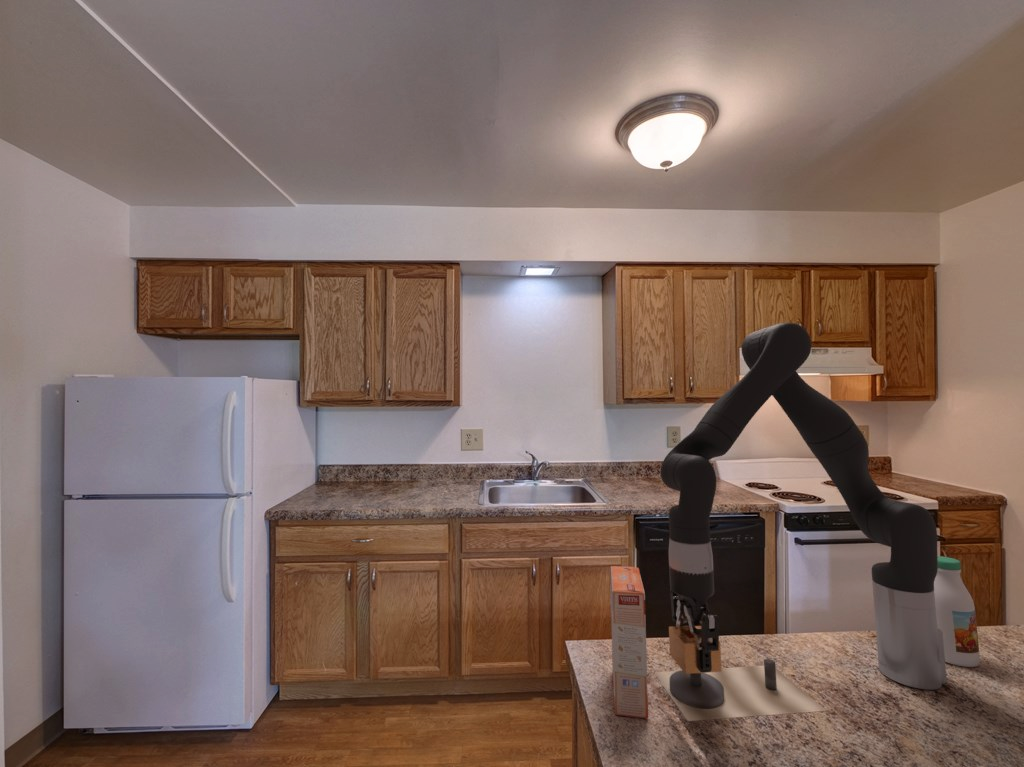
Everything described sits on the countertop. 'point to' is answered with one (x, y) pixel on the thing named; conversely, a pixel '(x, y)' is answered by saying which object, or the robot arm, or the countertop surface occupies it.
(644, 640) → the cracker box
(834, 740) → the countertop surface
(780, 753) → the countertop surface
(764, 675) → the board
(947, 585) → the milk bottle
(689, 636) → the hollow wooden cube
